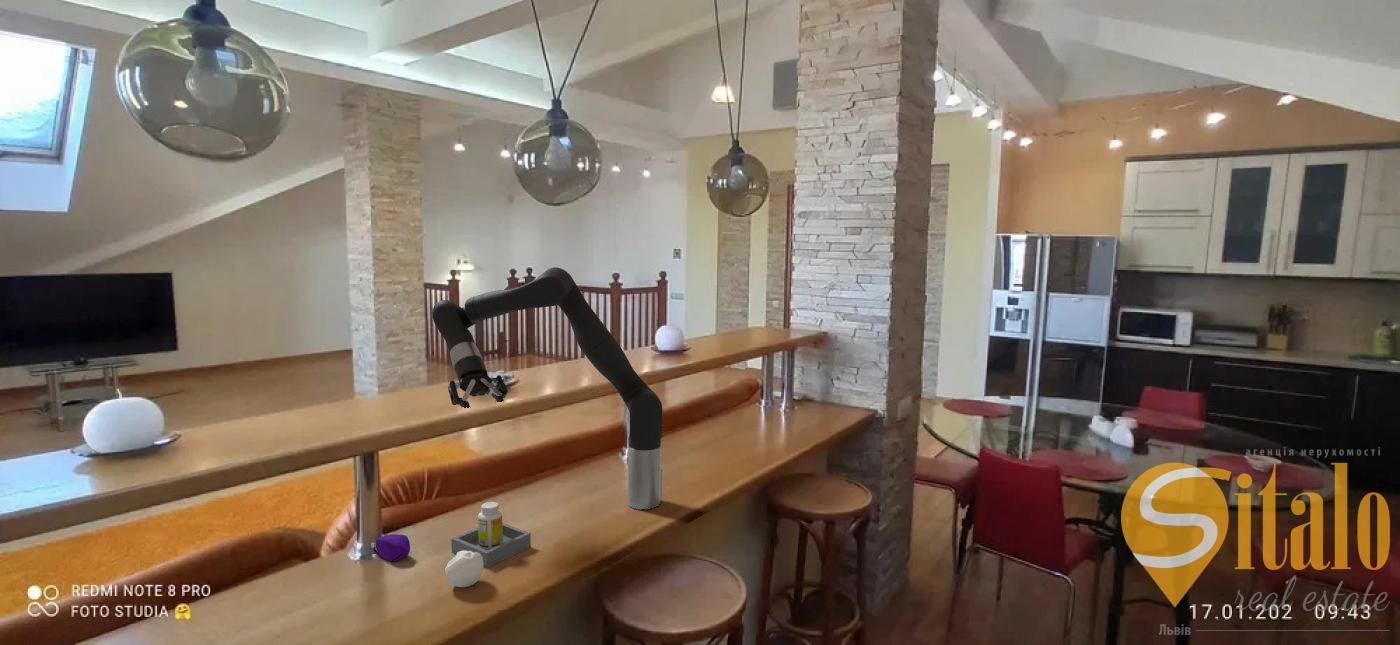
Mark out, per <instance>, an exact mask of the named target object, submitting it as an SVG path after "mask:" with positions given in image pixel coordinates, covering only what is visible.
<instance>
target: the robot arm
mask: <svg viewBox="0 0 1400 645" xmlns="http://www.w3.org/2000/svg"><path fill="white" fill-rule="evenodd" d="M555 306H558V308H560V310H561V312H563V313H564V315H565V316H566V318H567V319H568V321H569V323H570V326H571V329H572V332H573V335H574V336H575V340H576V342H577V344H578V347H579V348H580V350H581V352H582V353H583V354H584V356H585V357H586V359H587V360H589V362H590V364H592V365H593V367H594V368H595V370H597V371H598V372H599V373H600V375H602V376H603V378H605V379H606V380H607V381H608V382H610V384H612V386H613V388H614V389H615V390H616V392H618V394H619V395H620V397H621V399H622V400H623V402H624V404H625V406H626V407H627V410H628V412H629V433H628V434H629V435H628V442H627V443H628V444H627V445H628V446H627V447H628V450H627V451H628V456H627V457H628V463H627V464H628V469H627V470H628V472H627V474H628V477H627V479H628V483H627V484H628V487H627V488H628V491H627V492H628V494H627V495H628V496H627V498H628V499H627V503H628V506H629V507H630V508H631V509H635V508H636V510H642V509H645V510H650V509H649V508H652V509H655V508H654V507H656V506H658V505H659V504H661V502H662V501H663V469H662V468H661V465H662V464H661V463H662V460H661V459H662V458H661V457H662V456H661V454H662V453H661V452H662V451H661V450H662V447H661V445H662V443H661V442H662V437H663V418H664V416H663V415H664V414H663V404H662V401H661V399H660V397H659V396H658V394H656V392H655V391H654V390H652V389H651V388H650V386H648V384H646V382H644V380H643V379H642V378H641V377H640V376H639V375H638V373H637V372H636V371H635V369H634V368H633V366H632V364H631V363H630V361H629V358H628V357H627V355H626V354H625V352H624V350H623V348H622V347H621V345H620V344H619V342H618V341H617V340H616V338H615V337H614V336H613V335H612V333H611V331H609V330H608V328H607V327H606V326H605V324H604V323H603V322H602V321H601V319H600V317H599V316H598V315H597V314H596V312H595V311H594V310H593V308H592V307H591V306H590V305H589V304H588V302H587V300H586V298H585V296H584V295H583V294H582V292H581V290H580V289H579V286H578V285H577V284H576V282H575V280H574V279H573V277H572V275H570V273H568V271H567V270H565V269H563V268H560V267H559V266H558V267H557V266H556V267H555V266H553V267H550V268H548V269H547V270H545V271H544V272H542V273H541V274H540V275H539V276H537V278H536V279H534V280H532V281H529V282H527V283H525V284H523V285H521V286H517V287H514V288H509V289H500V290H493V291H489V292H484V293H480V294H478V295H473V296H471V297H469V298H468V299H466V300H465V302H464V306H463V307H461V306H459V305H458V304H456V303H454V302H453V301H451V300H448V299H443V300H439V301H438V302H436V303H435V304H434V305H433V308H432V311H431V317H432V321H433V324H434V325H435V327H436V328H437V330H438V331H439V333H440V335H441V336H442V338H443V339H444V341H445V343H446V347H447V349H448V352H449V355H450V361H451V364H452V367H453V369H454V372H455V375H456V378H457V381H458V382H457V381H454V380H450V381H449V383H448V386H447V389H448V393H449V398H450V401H451V404H452V405H453V406H456V405H459V406H460V407H461V408H462V407H464V408H466V407H467V408H469V407H470V408H471V405H470V402H469V400H468V399H469V397H472V398H473V397H477V396H485V395H486V397H488V398H491V399H493V400H495V402H496V401H497V402H502V401H504V402H505V400H504V399H505V398H506V397H507V395H508V393H509V390H508V389H507V388H508V387H507V386H506V384H505V382H504V380H503V377H502V376H501V375H500V374H497V375H496V377H490V376H489V374H488V370H487V368H486V366H485V362H484V359H483V358H482V357H483V356H482V354H481V351H480V350H479V348H478V347H477V345H476V341H475V339H474V336H473V333H472V332H471V330H469V328H471V327H473V326H475V325H477V323H479V322H482V321H485V320H489V319H493V318H496V317H499V316H503V315H506V314H509V313H513V312H519V311H524V310H530V309H538V308H539V309H541V308H547V307H548V308H549V307H551V308H552V307H555ZM459 389H461V390H462V391H463V392H464V394H463V395H462V397H460V395H459V392H458V390H459ZM489 390H490V391H489ZM661 500H662V501H661ZM660 501H661V502H660ZM659 506H660V505H659ZM659 506H658V507H659ZM656 508H657V507H656Z"/></svg>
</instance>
